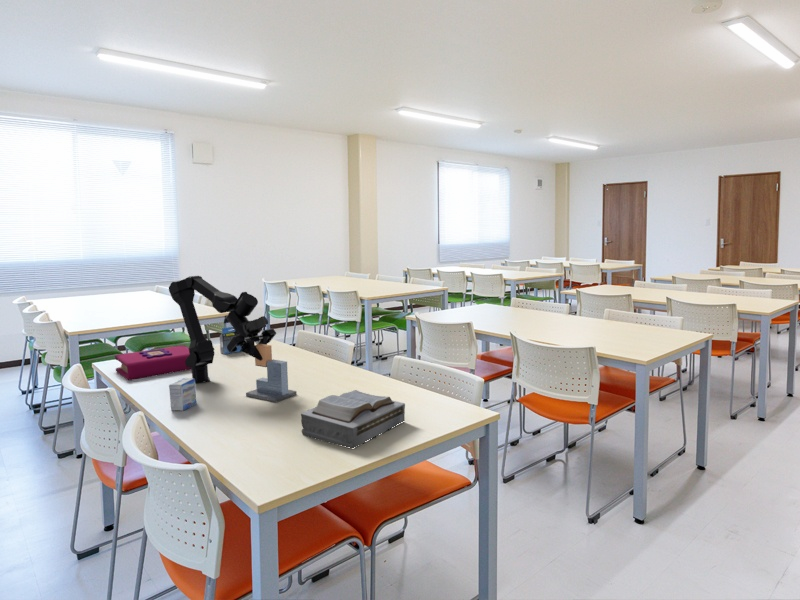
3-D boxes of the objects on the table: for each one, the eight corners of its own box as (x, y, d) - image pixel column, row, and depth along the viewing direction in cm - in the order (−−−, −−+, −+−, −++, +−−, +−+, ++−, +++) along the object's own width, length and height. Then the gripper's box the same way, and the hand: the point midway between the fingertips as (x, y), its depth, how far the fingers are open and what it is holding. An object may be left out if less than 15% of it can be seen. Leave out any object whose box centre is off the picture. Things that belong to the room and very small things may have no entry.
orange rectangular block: (255, 365, 188) (254, 345, 187) (261, 363, 191) (260, 343, 190) (265, 367, 185) (264, 346, 185) (272, 365, 188) (271, 345, 187)
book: (201, 369, 226) (200, 351, 225) (128, 382, 208) (127, 362, 207) (184, 360, 242) (183, 343, 241) (115, 371, 224) (113, 353, 223)
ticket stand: (246, 396, 187) (244, 361, 186) (267, 388, 196) (265, 355, 194) (276, 402, 180) (274, 366, 178) (296, 394, 188) (295, 359, 187)
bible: (291, 431, 155) (290, 397, 154) (364, 408, 174) (363, 378, 172) (342, 455, 138) (341, 417, 137) (416, 427, 157) (416, 394, 156)
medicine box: (183, 411, 172) (181, 384, 171) (170, 410, 173) (168, 384, 172) (197, 403, 180) (195, 378, 179) (184, 402, 181) (183, 377, 180)
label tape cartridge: (238, 350, 259) (237, 324, 258) (241, 351, 256) (240, 325, 255) (220, 353, 254) (218, 327, 252) (223, 354, 251) (222, 328, 249)
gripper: (230, 313, 180) (256, 349, 176) (271, 306, 196) (295, 339, 191) (216, 334, 185) (240, 370, 181) (256, 325, 201) (280, 358, 197)
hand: (265, 358), depth 187 cm, fingers closed on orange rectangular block, 3 cm apart
